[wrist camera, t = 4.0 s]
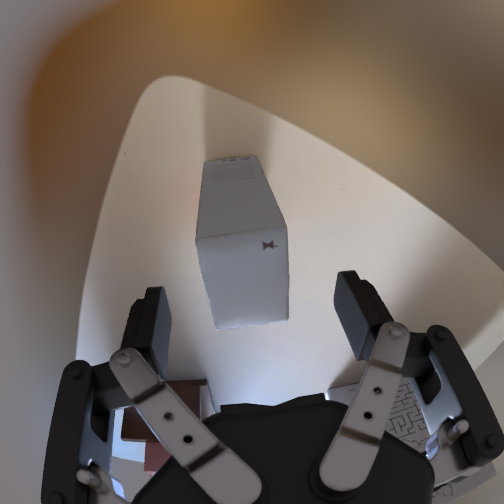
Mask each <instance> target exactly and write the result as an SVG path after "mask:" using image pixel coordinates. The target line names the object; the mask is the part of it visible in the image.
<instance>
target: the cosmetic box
mask: <svg viewBox="0 0 504 504" xmlns="http://www.w3.org/2000/svg"><path fill="white" fill-rule="evenodd" d="M195 243H196V248H197V253H198V259H199V264H200V268H201V273H202V277H203V281H204V284H205V288H206V292H207V295H208V299H209V304H210V308H211V311H212V315H213V319H214V323H215V327H216V330H223V329H232V328H239V327H247V326H255V325H262V324H269V323H277V322H286V321H287V320H288V318H289V262H288V235H287V226H286V223H285V220H284V218H283V215H282V213H281V210H280V208H279V206H278V204H277V202H276V199H275V197H274V195H273V192H272V190H271V188H270V186H269V184H268V181H267V179H266V177H265V174H264V172H263V170H262V167H261V165H260V163H259V161H258V159H257V156H248V157H239V158H231V159H223V160H216V161H207V162H204V166H203V174H202V182H201V190H200V199H199V208H198V217H197V227H196V238H195Z"/></svg>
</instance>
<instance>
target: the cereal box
mask: <svg viewBox="0 0 504 504" xmlns="http://www.w3.org/2000/svg"><path fill="white" fill-rule="evenodd" d="M358 385H359V383H356V384H352V385H347V386H343V387H338V388H333V389H329V390H327V393H326V396H325V399H326V400H334V401H338V402H341V403H344V404H346V405H348V406H349V405H350V403H351V401H352V398H353V396H354V394H355V392H356V389H357V387H358ZM385 430H386V431H387V432H389V433H390V434H392V435H393V436H395V437H397V438H398V439H400V440H401V441H403V442H404V443H406V444H408V445H409V446H411V447H412V448H414V449H415V450H417V451H419V452H420V453H422V454H423V455H424V456H426V457H427V449H426V444H427V441H428V439H429V437H430V433H429V430H428V427H427V424H426V422H425V419H424V416H423V414H422V411H421V408H420V406H419V403H418V401H417V398H416V396H415V393H414V390H413V388H412V386H411V383H410V381H409V378H402V379H401V382H400V386H399V389H398V392H397V395H396V399H395V402H394V405H393V408H392V411H391V414H390V417H389V419H388V422H387V425H386V428H385ZM496 474H497V473H496V470H495V468H494V466H493V463H492V461H491V462H490V463H488V464H487V465H485V466H484V467H482V468H481V469H480V470H478V471H477V472H475V473H473V474H472V475H470V476H469V477H467V478H466V479H464V480H462V481H461V482H458V483H451V482H447V483H444V484H442V485H439V486H437V487H435V488H434V490H433V496H432V504H450V503H452V502H454V501H456V500H457V499H459V498H461V497H463V496H465V495H466V494H468V493H470V492H471V491H473V490H475V489H476V488H478V487H479V486H481V485H482V484H484V483H485V482H487V481H489V480H490V479H492V478H493V477H494V476H496Z"/></svg>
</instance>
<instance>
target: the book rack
mask: <svg viewBox="0 0 504 504" xmlns="http://www.w3.org/2000/svg"><path fill="white" fill-rule="evenodd" d="M162 382H163V383H165V382H166V383H167V384H168V385H169V386H170V387H171V388H172V390H173V391H174V392H175V393H176V394H177V395H178V396H179V398H180V399H181V400H182V401H183V402H184V403H185V404H186V405H187V407H188V408H189V409H190V410H191V411H192V412H193V413H194V414H195V415H196V416H197V418H198V419H199V420H200V421H202V420H204V419H205V418H207V417H209V416H211V415H213V414H216V412H215V408H214V404H213V400H212V397H211V393H210V389H209V385H208V381H207V379H205V380H184V381H162ZM121 439H122V440H123V441H132V442H151V443H161V442H160V441H159V440H158V439H157V437H156V436H155V435H154V433H153V432H152V431H151V429H150V428H149V427H148V425H147V424H146V423H145V421H144V420H143V418H142V417H141V416H140V414H139V413H138V411H137V410H136V409H135V407H134V406H129V407H126V408H124V415H123V422H122V430H121Z"/></svg>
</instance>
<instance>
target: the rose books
mask: <svg viewBox="0 0 504 504" xmlns="http://www.w3.org/2000/svg"><path fill="white" fill-rule="evenodd" d="M170 456H171V455H170V454H169V453H168V451H167V450H166V449H165V448H164V446H163V445H162V444H161V443H151V442H146V446H145V463H144V464H145V465H144V471H145V472H146V473H147V474H148V475H149V476H150V477H152V476H153V475H154V474H155V473H156V472H157V471H158V470H159V468H160V467H161V466H162V465H163V464H164V463H165V462H166V460H167V459H168V458H169V457H170Z"/></svg>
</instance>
